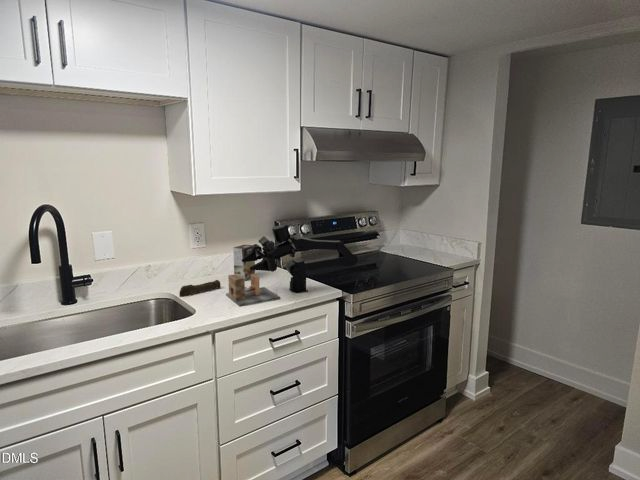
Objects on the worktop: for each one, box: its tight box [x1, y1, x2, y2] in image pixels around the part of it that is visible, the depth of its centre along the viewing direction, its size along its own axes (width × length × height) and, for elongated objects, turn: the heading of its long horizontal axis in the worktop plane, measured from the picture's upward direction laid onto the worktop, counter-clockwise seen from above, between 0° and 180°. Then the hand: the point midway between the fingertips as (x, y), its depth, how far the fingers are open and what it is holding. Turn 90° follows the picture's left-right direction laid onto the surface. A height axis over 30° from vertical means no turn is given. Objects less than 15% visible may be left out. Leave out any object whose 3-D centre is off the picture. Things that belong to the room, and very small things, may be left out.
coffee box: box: [233, 244, 256, 282], centre depth 208 cm, size 9×6×16 cm
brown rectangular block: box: [245, 273, 261, 296], centre depth 179 cm, size 9×5×8 cm, turn 122°
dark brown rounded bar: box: [179, 279, 221, 297], centre depth 188 cm, size 19×4×5 cm, turn 132°
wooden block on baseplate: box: [225, 273, 281, 308], centre depth 180 cm, size 18×16×10 cm
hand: (245, 264), depth 177 cm, fingers open, 9 cm apart
